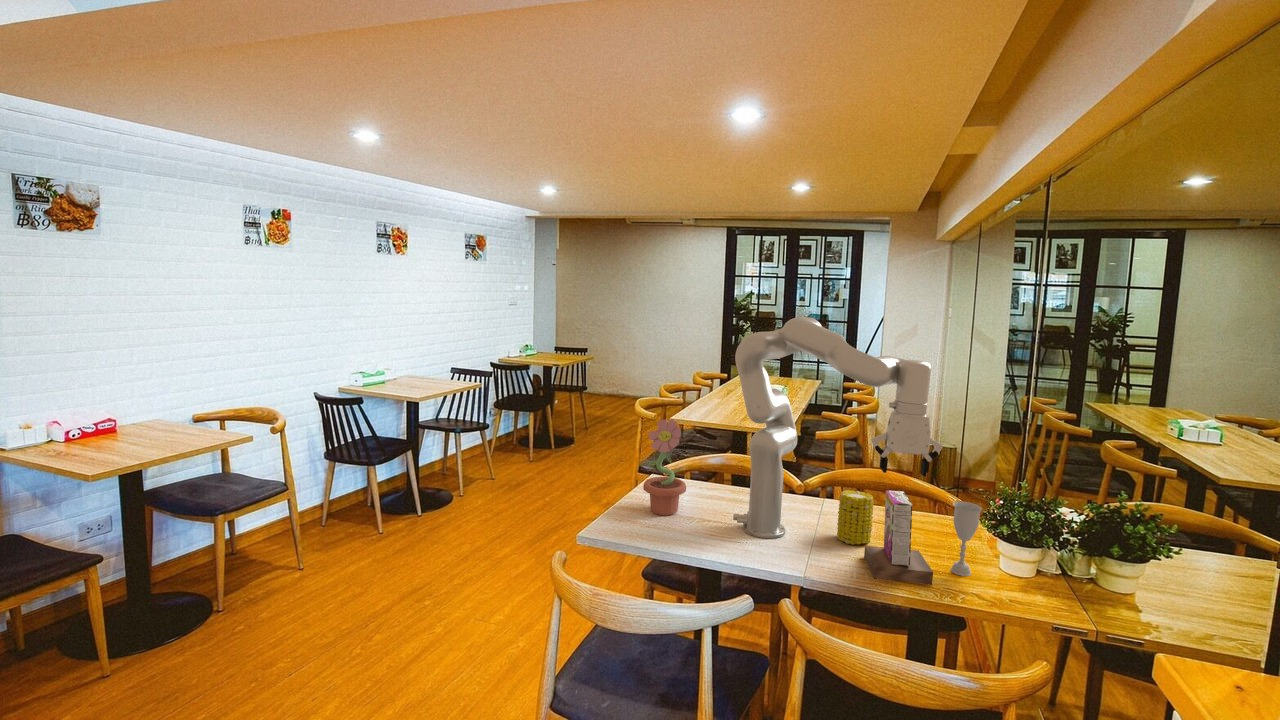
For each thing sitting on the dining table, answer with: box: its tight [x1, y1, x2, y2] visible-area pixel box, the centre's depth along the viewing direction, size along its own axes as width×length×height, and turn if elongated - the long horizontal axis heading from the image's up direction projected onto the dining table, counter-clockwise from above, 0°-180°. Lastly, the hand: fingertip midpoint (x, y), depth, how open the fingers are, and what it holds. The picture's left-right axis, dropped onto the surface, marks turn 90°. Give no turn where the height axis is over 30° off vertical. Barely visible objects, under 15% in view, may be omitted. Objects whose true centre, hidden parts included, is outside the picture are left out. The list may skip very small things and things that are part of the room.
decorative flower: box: [642, 419, 687, 516], centre depth 200 cm, size 15×14×30 cm
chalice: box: [950, 501, 983, 577], centre depth 164 cm, size 7×7×18 cm
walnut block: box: [863, 545, 934, 586], centre depth 164 cm, size 14×13×4 cm
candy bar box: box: [883, 490, 913, 566], centre depth 163 cm, size 11×5×16 cm, turn 168°
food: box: [836, 489, 874, 546], centre depth 183 cm, size 15×12×10 cm
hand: (903, 473), depth 162 cm, fingers open, 9 cm apart
